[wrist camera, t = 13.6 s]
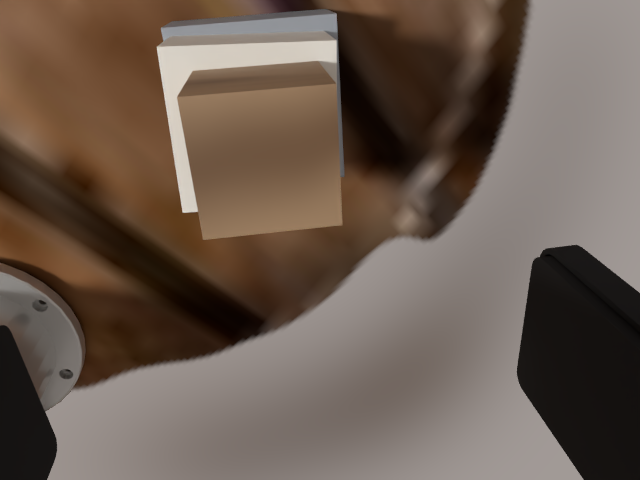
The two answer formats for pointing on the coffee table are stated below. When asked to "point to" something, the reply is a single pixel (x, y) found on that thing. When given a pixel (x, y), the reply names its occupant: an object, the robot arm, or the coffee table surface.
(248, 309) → the coffee table surface
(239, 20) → the tower base
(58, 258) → the coffee table surface
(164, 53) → the tower top
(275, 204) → the walnut cube
